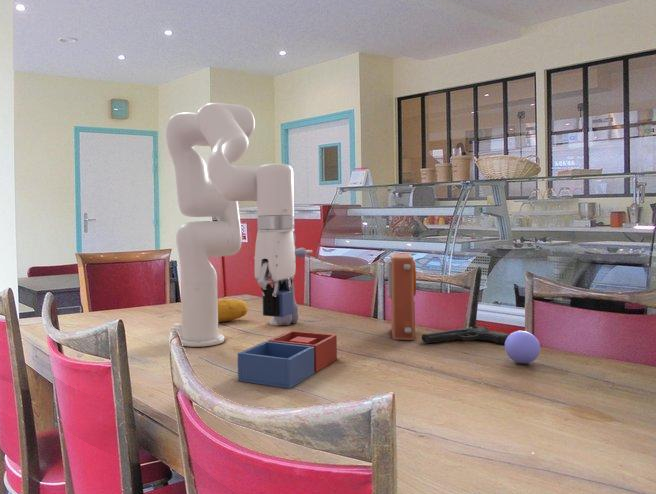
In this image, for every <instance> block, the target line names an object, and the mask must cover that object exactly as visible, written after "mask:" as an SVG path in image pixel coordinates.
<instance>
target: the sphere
mask: <svg viewBox="0 0 656 494" xmlns="http://www.w3.org/2000/svg"><path fill="white" fill-rule="evenodd" d="M509 334H510V335H509V336H508V337H507V339H506V341H505V344H504V351H505V353H506V355H507V356H508V358H509V359H511V360H512V361H513V362H515V363H518V364H521V365H522V364H523V365H526V364H531V363H533V362H535V361H536V360H537V359H538V357H539V355H540V352H541V344H540V341H539V339H538V338H537V337H536V336H535V335H534V334H532V333H531V332H529V331H525V330H516V331H513V332H511V333H509Z"/></svg>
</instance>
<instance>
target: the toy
mask: <svg viewBox="0 0 656 494" xmlns="http://www.w3.org/2000/svg"><path fill="white" fill-rule="evenodd" d="M293 237H294V244H296V239H297V237H296V233H295V231H293ZM313 251H314V250H312V249H306V248H305V247H298V248H297V246H296V245H295V258H298V259H299V258H300V259H303V258H305V257H306V255H308V254H313ZM253 260H254V261H255V256H253ZM282 282H283V281H282ZM291 286H292V291H293V314H290V315H287V316H285V317H275V316H271V318H270V320H269V325H270V326H290V325H291V324H296V323H297V322H298V321H299V305H298V304H297V301H296V297H295V296H296V295H295V283H294V282H293V283H292V285H291ZM277 290H278V289H277Z"/></svg>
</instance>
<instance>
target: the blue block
mask: <svg viewBox="0 0 656 494" xmlns="http://www.w3.org/2000/svg"><path fill="white" fill-rule="evenodd" d="M277 296H279V316H277V317H285V316H287V315H290V314H293V291H279V290H277ZM262 316H263V317H264V316H265V315H264V296H263V295H262ZM265 317H266V316H265Z"/></svg>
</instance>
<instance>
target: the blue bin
mask: <svg viewBox="0 0 656 494" xmlns="http://www.w3.org/2000/svg"><path fill="white" fill-rule="evenodd" d="M314 374H315V372H314V347H311V346H303V345H294V344H285V343H275V342H268V341H263V342H261V343H259V344H256V345H253V346H252V347H249V348H247V349H244V350H242V351H240V352H238V353H237V381H238V382H242V383H243V382H245V383H251V384H257V385H262V386H270V387H275V388H282V389H292V388H293V387H295V386H296V385H299V384H300V383H301V382H303V381H305V380H306V379H308V378H309V377H312V376H313V375H314Z"/></svg>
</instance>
